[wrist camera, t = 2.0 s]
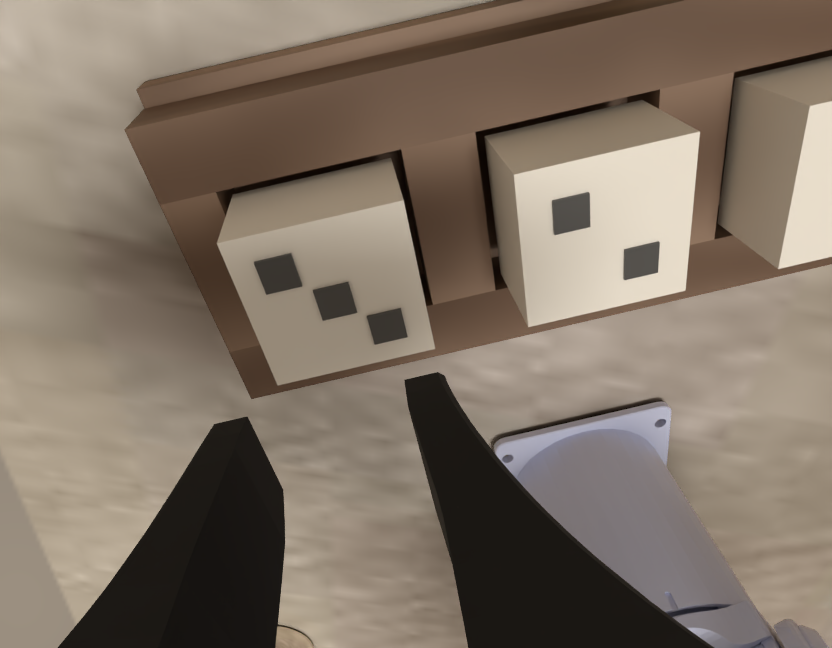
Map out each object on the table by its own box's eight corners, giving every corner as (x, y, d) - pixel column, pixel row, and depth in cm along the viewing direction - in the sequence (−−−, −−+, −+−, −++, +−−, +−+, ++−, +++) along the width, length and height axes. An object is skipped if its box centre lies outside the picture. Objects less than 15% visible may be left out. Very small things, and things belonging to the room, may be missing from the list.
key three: (420, 292, 19) (435, 350, 16) (283, 324, 19) (277, 387, 16) (390, 157, 16) (404, 201, 14) (232, 194, 16) (216, 245, 13)
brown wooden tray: (831, 224, 22) (894, 261, 20) (263, 356, 22) (256, 409, 20) (908, -95, 17) (1010, -98, 14) (145, 81, 17) (114, 109, 14)
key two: (637, 241, 19) (686, 292, 16) (500, 273, 19) (529, 329, 16) (642, 99, 16) (702, 132, 14) (484, 136, 16) (514, 175, 14)
